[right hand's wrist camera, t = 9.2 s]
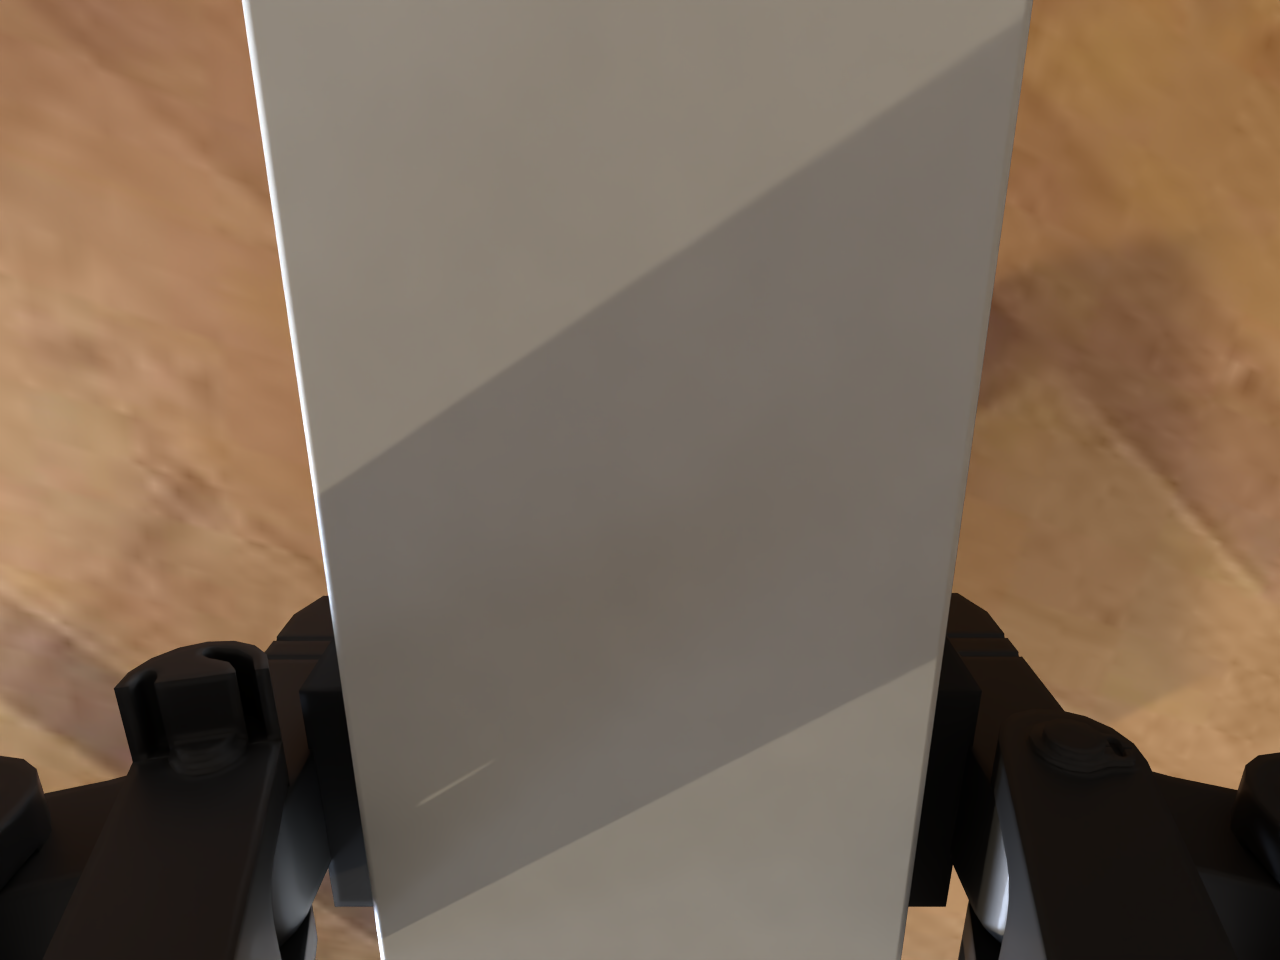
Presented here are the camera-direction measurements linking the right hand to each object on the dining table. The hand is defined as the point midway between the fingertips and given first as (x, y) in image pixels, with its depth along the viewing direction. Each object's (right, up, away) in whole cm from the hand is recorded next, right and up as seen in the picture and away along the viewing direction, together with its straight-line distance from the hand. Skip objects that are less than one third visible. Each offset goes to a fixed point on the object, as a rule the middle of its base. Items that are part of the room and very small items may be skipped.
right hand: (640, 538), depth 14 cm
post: (0, -19, +7) cm, 20 cm away
